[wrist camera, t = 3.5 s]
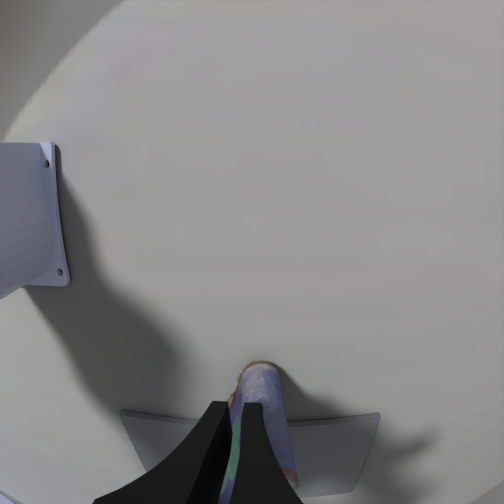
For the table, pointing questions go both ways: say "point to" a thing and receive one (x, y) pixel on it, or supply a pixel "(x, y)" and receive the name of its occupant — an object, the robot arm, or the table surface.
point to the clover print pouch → (270, 395)
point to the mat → (302, 441)
